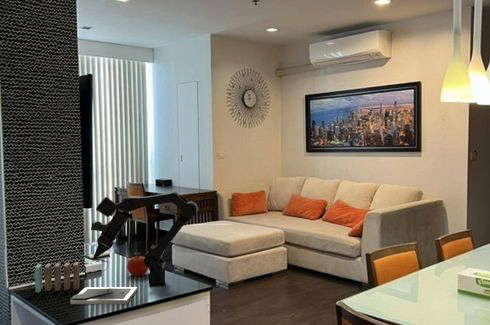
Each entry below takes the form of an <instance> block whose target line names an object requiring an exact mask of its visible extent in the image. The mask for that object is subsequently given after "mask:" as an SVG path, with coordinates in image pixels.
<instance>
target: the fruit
mask: <svg viewBox="0 0 490 325" xmlns="http://www.w3.org/2000/svg"><path fill="white" fill-rule="evenodd" d="M134 255H135V256H132V257H130V258H129V259H128V260H127V264H126V267H127V271H128V273H129V274H130V275H131V276H134V277H140V276H141V275H142V276H144V275H146V273H147V272H148V271H149V269H148V267H147V266H146V265H145V263H144V258H145V257H146V256H140V255H141V252H139V251H136V252H134Z"/></svg>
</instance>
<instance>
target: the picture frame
mask: <svg viewBox="0 0 490 325" xmlns="http://www.w3.org/2000/svg"><path fill="white" fill-rule="evenodd" d="M136 291H137V292H138V286H113V287H112V286H110V287H109V286H106V287H105V286H103V287H101V286H100V287H98V286H97V287H96V286H95V287H92V286H91V287H87V286H86V287H84V288H83V289H82V290H81V291H80V292H79V293H78V294H74V295H73V296H72V297H70V305H127V304H128V303H129V302H130V301H131V299H132V298H133V297H134V296H135V294H136V293H137V292H136ZM135 292H136V293H135ZM132 296H133V297H132ZM131 297H132V298H131ZM129 300H130V301H129Z"/></svg>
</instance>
